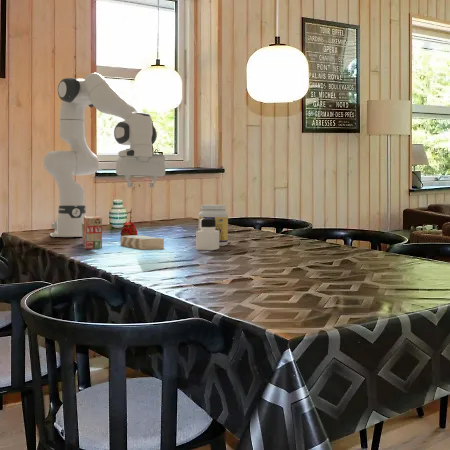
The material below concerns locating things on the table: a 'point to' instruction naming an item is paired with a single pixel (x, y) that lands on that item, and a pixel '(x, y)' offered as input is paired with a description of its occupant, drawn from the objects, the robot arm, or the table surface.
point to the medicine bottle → (207, 235)
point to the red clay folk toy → (129, 228)
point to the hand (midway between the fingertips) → (141, 187)
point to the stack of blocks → (92, 232)
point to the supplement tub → (217, 220)
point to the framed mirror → (142, 242)
